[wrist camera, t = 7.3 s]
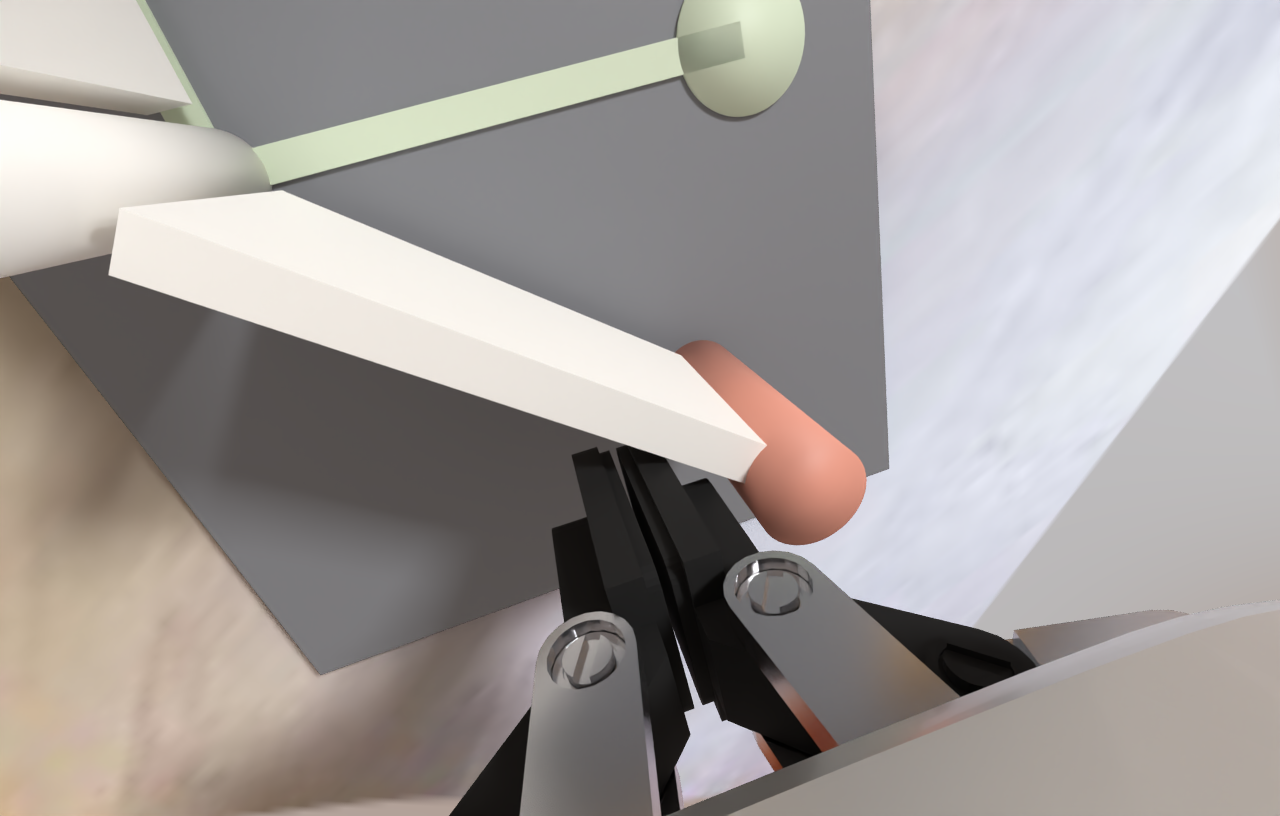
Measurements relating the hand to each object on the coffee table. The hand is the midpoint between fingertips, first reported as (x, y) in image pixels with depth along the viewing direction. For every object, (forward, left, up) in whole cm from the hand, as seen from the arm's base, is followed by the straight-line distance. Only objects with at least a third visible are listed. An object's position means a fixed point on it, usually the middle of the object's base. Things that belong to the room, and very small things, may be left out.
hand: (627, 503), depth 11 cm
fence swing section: (-3, 0, -4) cm, 5 cm away
